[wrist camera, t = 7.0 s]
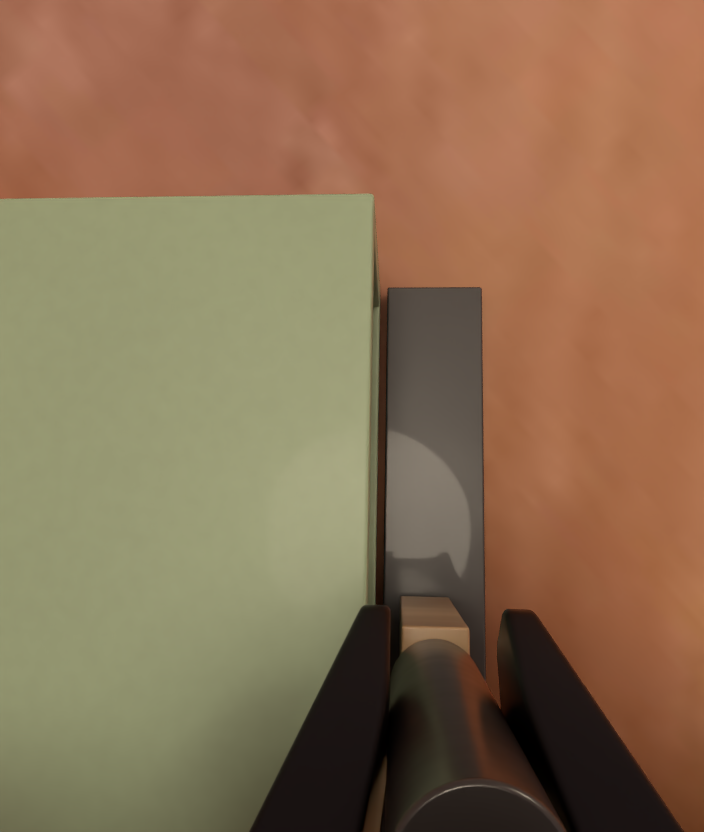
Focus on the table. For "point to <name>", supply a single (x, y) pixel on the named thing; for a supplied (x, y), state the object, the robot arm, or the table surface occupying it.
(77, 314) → the cabinet
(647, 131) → the table surface
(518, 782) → the door
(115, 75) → the table surface
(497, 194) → the table surface
